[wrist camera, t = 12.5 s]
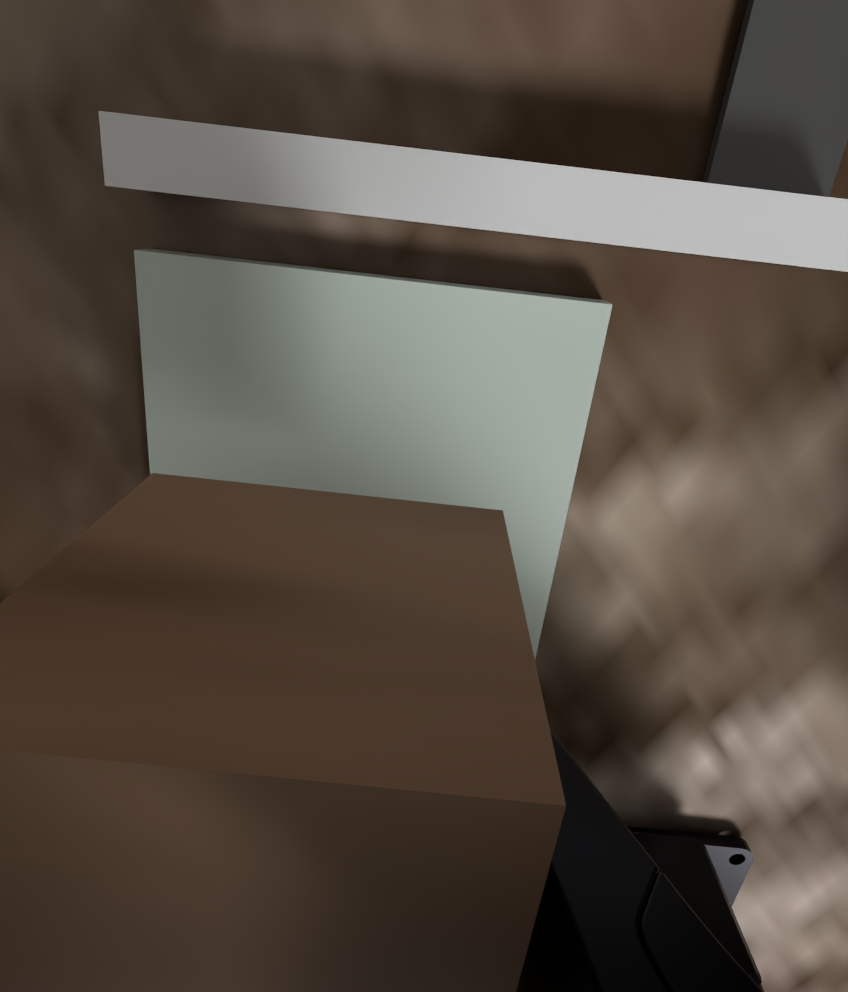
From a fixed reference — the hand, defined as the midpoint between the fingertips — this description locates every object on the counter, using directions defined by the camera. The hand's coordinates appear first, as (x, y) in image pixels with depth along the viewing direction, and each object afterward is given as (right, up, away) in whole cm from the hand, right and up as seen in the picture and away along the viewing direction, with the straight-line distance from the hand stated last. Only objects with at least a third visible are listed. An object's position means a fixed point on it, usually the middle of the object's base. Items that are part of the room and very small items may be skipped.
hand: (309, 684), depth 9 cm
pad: (0, +3, +7) cm, 7 cm away
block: (0, +1, +1) cm, 1 cm away
